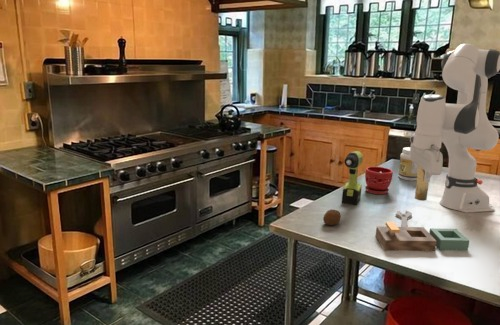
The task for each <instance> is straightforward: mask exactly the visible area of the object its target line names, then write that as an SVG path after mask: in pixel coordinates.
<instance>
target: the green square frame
mask: <svg viewBox="0 0 500 325" xmlns="http://www.w3.org/2000/svg"><path fill="white" fill-rule="evenodd" d="M428 232H429V233H430V235H431V236H432V237H433V238H434V239H435V240H436V241H437V243H436V249H438V250H439V251H455V252H456V251H460V252H461V251H469V246H470V239H468V238H467V237H466V236H465V234H463V233H462V232H460V230H458V229H457V228H433V227H432V228H429V231H428Z"/></svg>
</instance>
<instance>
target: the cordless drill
mask: <svg viewBox="0 0 500 325" xmlns="http://www.w3.org/2000/svg"><path fill="white" fill-rule="evenodd" d="M363 162H364V155H363V153H362V152H361V151H358V150H354V151H351V152H349V153H348V154H347V155H346V156H345V158H344V165H345V166H346V167H347V168H348V170H349V180H348V181H349V182H346V184H345V185H344V187H343V190H342V195H341V203H342V204H344V205H353V206H357V205H358V204H359V202H360V201H361V196H362V184H360V183H358V169H359V167H360V165H362V164H363Z"/></svg>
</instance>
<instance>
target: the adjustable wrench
mask: <svg viewBox="0 0 500 325" xmlns="http://www.w3.org/2000/svg"><path fill="white" fill-rule="evenodd" d="M412 216H413V213H412V212H411V211H408V210H405V213H402V211H400V210H397V211H396V213H395V217H396V218H398V219H400V220H401V221H400V222H401V225H400V227H409V226H408V225H409V224H408V220H409V219H411V218H412Z"/></svg>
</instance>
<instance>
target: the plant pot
mask: <svg viewBox="0 0 500 325" xmlns="http://www.w3.org/2000/svg"><path fill="white" fill-rule="evenodd" d="M393 174H394V171H393V169H390V168H387V167H383V166H368V167H366V168H365V177H364V178H365V184H366V186H365V187H364V188H365V190H366V191H367V192H368V193H370V194H372V195H385V194H387V193H389V191H390V190H389V187H390V185H391V182H392V180H393Z"/></svg>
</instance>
